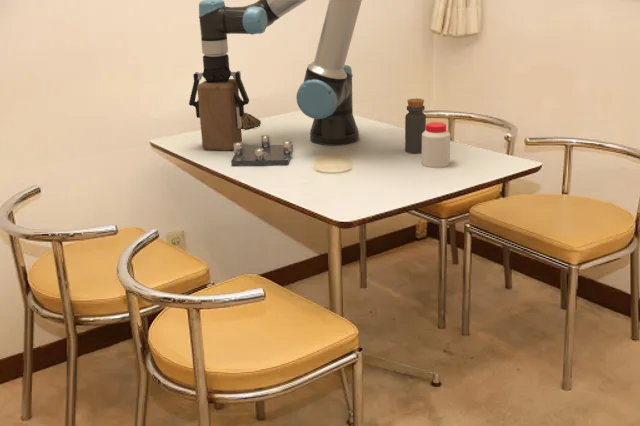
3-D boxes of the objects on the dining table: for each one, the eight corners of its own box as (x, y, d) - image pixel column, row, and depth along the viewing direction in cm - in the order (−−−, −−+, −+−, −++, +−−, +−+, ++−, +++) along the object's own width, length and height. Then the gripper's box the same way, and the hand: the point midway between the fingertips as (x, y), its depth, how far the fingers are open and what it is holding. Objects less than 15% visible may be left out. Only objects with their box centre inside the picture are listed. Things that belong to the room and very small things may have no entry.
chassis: (294, 149, 233) (293, 134, 232) (289, 165, 218) (288, 150, 216) (238, 150, 234) (237, 135, 233) (229, 166, 219) (228, 151, 217)
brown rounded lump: (216, 126, 264) (215, 112, 262) (245, 120, 272) (244, 106, 270) (239, 133, 255) (238, 118, 253) (268, 125, 263) (267, 111, 261)
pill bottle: (432, 169, 210) (432, 129, 206) (415, 162, 216) (416, 123, 213) (455, 164, 213) (456, 125, 209) (438, 158, 220) (439, 119, 216)
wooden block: (233, 151, 233) (228, 84, 226) (201, 150, 235) (195, 84, 228) (243, 142, 243) (238, 78, 236) (212, 141, 244) (207, 78, 238)
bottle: (429, 150, 227) (430, 99, 222) (417, 154, 223) (417, 103, 218) (413, 147, 231) (413, 97, 226) (401, 151, 227) (401, 100, 222)
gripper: (256, 51, 232) (260, 123, 240) (179, 53, 233) (186, 125, 241) (252, 55, 225) (257, 129, 233) (173, 57, 226) (181, 131, 234)
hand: (221, 127), depth 237 cm, fingers closed on wooden block, 10 cm apart
